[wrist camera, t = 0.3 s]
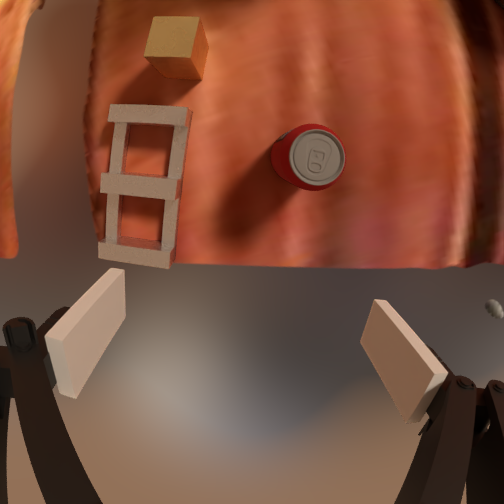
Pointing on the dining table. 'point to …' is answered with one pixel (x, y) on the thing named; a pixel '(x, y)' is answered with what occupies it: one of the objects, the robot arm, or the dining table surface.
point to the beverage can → (309, 157)
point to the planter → (500, 3)
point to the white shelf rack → (144, 185)
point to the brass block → (177, 47)
